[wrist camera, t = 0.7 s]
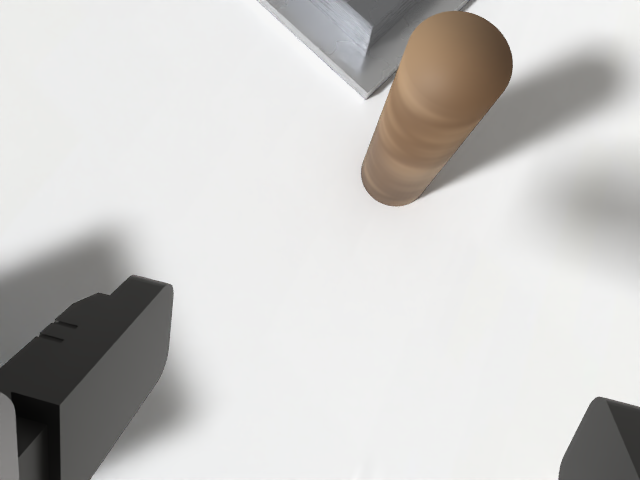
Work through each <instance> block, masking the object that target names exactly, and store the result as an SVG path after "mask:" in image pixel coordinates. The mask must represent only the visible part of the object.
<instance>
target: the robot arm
mask: <svg viewBox="0 0 640 480" xmlns="http://www.w3.org/2000/svg"><path fill="white" fill-rule="evenodd" d="M172 306H173V287H172V285H171V284H168V283H164V282H160V281H156V280H152V279H149V278H145V277H141V276H137V275H132V276H130V277H129V278H128V279H127V280H126V281H125V282H124V283H122V284H121V285H120V286H119V287H118V288H117V289H116V290H115V291H114V292H113V293H112V294H111V295H106V294H102V293H97V294H94V295H92V296H90V297H87V298H85V299H83V300H80V301H78V302H76V303H73V304H72V305H71V306H70V307H69V308H68V309H67V310H65V311H64V312H63V313H62V314H61V315H60V316H59V317H58V318H56V319H55V322H54V323H51V324H50V325H49V326H47V327H46V328H45V329H44V330H43V331H42V332H41V333H40V335H39V337H35V338H34V339H33V340H32V341H31V342H29V343H28V344H27V345H26V346H25V347H24V348H23V349H22V350H20V351H19V352H18V353H17V354H16V355H15V356H14V357H13V358H11V359H10V360H9V361H8V362H7V363H6V364H5V365H4V366H2V367H1V368H0V480H90V479H91V477H92V476H93V474H94V473H95V472H96V470H97V469H98V467H99V466H100V464H101V463H102V461H103V460H104V459H105V457H106V456H107V454H108V453H109V451H110V450H111V448H112V447H113V445H114V444H115V443H116V441H117V440H118V438H119V437H120V435H121V434H122V432H123V431H124V430H125V428H126V427H127V425H128V424H129V422H130V421H131V419H132V418H133V416H134V415H135V414H136V412H137V411H138V409H139V408H140V406H141V405H142V403H143V402H144V401H145V399H146V398H147V396H148V395H149V393H150V392H151V390H152V389H153V387H154V386H155V385H156V383H157V382H158V380H159V378H160V376H161V374H162V372H163V369H164V366H165V363H166V360H167V356H168V350H169V340H170V329H171V317H172ZM559 480H640V407H638V406H634V405H630V404H627V403H623V402H619V401H615V400H611V399H607V398H603V397H597V398H595V399H594V400H593V401H592V402H591V403H590V405H589V407H588V409H587V411H586V413H585V415H584V417H583V419H582V421H581V423H580V425H579V427H578V429H577V431H576V433H575V435H574V437H573V439H572V441H571V443H570V445H569V447H568V449H567V451H566V453H565V455H564V457H563V459H562V462H561V466H560V470H559Z"/></svg>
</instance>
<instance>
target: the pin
mask: <svg viewBox="0 0 640 480" xmlns="http://www.w3.org/2000/svg"><path fill="white" fill-rule="evenodd" d="M512 68H513V60H512V54H511V50H510V47H509V45H508V43H507V41H506V39H505V38H504V36H503V35H502V33H501V32H500V31H499V30H498V29H497V28H496V27H495V26H494V25H493V24H491V23H490V22H489V21H487V20H486V19H484V18H482V17H480V16H478V15H475V14H472V13H469V12H463V11H447V12H441V13H438V14H435V15H433V16H431V17H429V18H427V19H426V20H424V21H423V22H422V23H420V24H419V25H418V26H417V27H416V29H415V30H414V31H413V33H412V34H411V36H410V38H409V40H408V43H407V46H406V48H405V51H404V54H403V56H402V59H401V62H400V64H399V67H398V70H397V72H396V75H395V78H394V81H393V83H392V86H391V89H390V91H389V94H388V97H387V99H386V102H385V105H384V107H383V110H382V113H381V115H380V118H379V121H378V123H377V126H376V129H375V131H374V134H373V137H372V140H371V142H370V145H369V148H368V150H367V153H366V156H365V158H364V161H363V164H362V168H361V177H362V182H363V185H364V187H365V189H366V190H367V192H368V193H369V194H370V195H371V196H372V197H373V198H374V199H375V200H377V201H378V202H380V203H382V204H385V205H389V206H403V205H407V204H409V203H411V202H413V201H415V200H416V199H417V198H418V197H419V196H420V195H421V194H422V193H423V192H424V190H425V189H426V188H427V187H428V185H429V184H430V183H431V182H432V180H433V179H434V178H435V177H436V175H437V174H438V173H439V172H440V170H441V169H442V168H443V167H444V165H445V164H446V163H447V162H448V160H449V159H450V158H451V157H452V155H453V154H454V153H455V152H456V150H457V149H458V148H459V147H460V145H461V144H462V143H463V142H464V140H465V139H466V138H467V137H468V135H469V134H470V133H471V132H472V130H473V129H474V128H475V127H476V125H477V124H478V123H479V122H480V120H481V119H482V118H483V117H484V115H485V114H486V113H487V112H488V110H489V109H490V108H491V107H492V105H493V104H494V103H495V102H496V100H497V99H498V98H499V97H500V95H501V94H502V93H503V92H504V90H505V89H506V87H507V86H508V83H509V81H510V78H511V75H512Z"/></svg>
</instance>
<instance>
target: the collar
mask: <svg viewBox="0 0 640 480" xmlns="http://www.w3.org/2000/svg"><path fill="white" fill-rule="evenodd" d="M257 1H258V2H259V3H260V4H262V5H263V6H264V7H265V8H266V9H267V10H268V11H269V12H270V13H271V14H272V15H274V16H275V17H276V18H277V19H278V20H279V21H280V22H281V23H282V24H283V25H285V26H286V27H287V28H288V29H289V30H290V31H291V32H292V33H293V34H294V35H295V36H297V37H298V38H299V39H300V40H301V41H302V42H303V43H304V44H305V45H306V46H307V47H309V48H310V49H311V50H312V51H313V52H314V53H315V54H316V55H317V56H318V57H320V58H321V59H322V60H323V61H324V62H325V63H326V64H327V65H328V66H329V67H330V68H332V69H333V70H334V71H335V72H336V73H337V74H338V75H339V76H340V77H341V78H343V79H344V80H345V81H346V82H347V83H348V84H349V85H350V86H351V87H352V88H353V89H355V90H356V91H357V92H358V93H359V94H360V95H361V96H362V97H363V98H364V99H365V100H366V99H367V98H368V97H369V96H370V95H371V94H372V93H373V92H374V91H376V90H377V89H378V88H379V87H380V86H381V85H382V84H383V83H384V82H385V81H386V80H387V79H388V78H389V77H390V76H391V75H392V74H393V73H394V72H395V71H396V70H397V69H398V67H399V64H400V62H401V59H402V56H403V54H404V51H405V48H406V46H407V43H408V40H409V38H410V36H411V34H412V33H413V31H414V30H415V29H416V27H417V26H418V25H419V24H420V23H422V22H423V21H424V20H426V19H427V18H429V17H431V16H433V15H435V14H438V13H441V12H447V11H459V10H460V9H461V8H462V7H463V6H464V5H465V4H466V3H467V2H468V1H469V0H257Z"/></svg>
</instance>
